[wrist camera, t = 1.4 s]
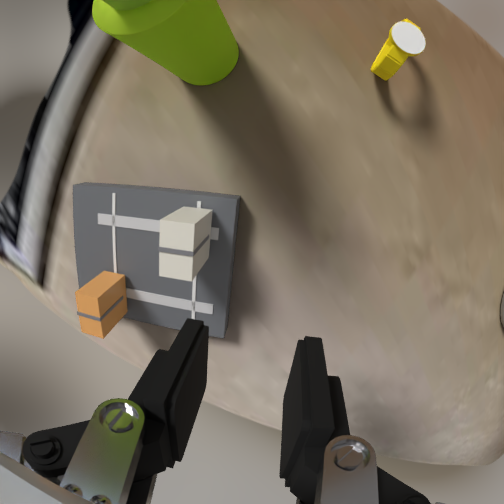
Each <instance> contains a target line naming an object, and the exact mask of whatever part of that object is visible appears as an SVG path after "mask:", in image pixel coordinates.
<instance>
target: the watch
mask: <svg viewBox="0 0 504 504" xmlns="http://www.w3.org/2000/svg"><path fill="white" fill-rule="evenodd" d="M425 46H426V41H425V38H424V35H423V34H422V32H421V29H420V28H419V27H418V26H417V25H415V24H414V23H412V22H411V21H409V20H408V19H403V20H402V21H401V22H398V23H395V24H394V25H393V26H392V28H391V29H390V31H389V38H388V39H387V41H386V42H385V44H384V46H383V47H382V49H381V51H380V53H379V54H378V56H377V58H376V60H375V61H374V63H373V65H372V67H371V72H373V73H374V74H376V75H377V76H379V77H380V78H382V79H383V80H385V81H386V80H388V79H389V78H391V77H392V76H393V75H394V74H395V73H396V72H397V71H398V69H399V68H400V67H401V66H402V64H403V63H404V62H405V61H406V59H407V58H408V56H416V55H419V54H420V53H422V52H423V51H424V49H425Z"/></svg>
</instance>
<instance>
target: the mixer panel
mask: <svg viewBox="0 0 504 504" xmlns="http://www.w3.org/2000/svg"><path fill="white" fill-rule="evenodd" d="M184 206H185V207H194V208H203V209H211V210H213V211H212V223H211V235H210V249H209V258H208V259H207V261H206V262H205V263H204V265H203V266H202V268H201V269H200V271H199V272H198V273H197V275H196V276H195V278H194V279H193V281H192V282H191V281H185V280H180V279H174V278H168V277H162V276H159V251H158V247H159V236H160V219H162V218H164V217H166V216H167V215H169V214H171V213H173V212H174V211H176V210H178V209H180V208H182V207H184ZM239 206H240V196H237V195H228V194H220V193H211V192H202V191H192V190H182V189H171V188H160V187H148V186H135V185H121V184H105V183H87V182H84V183H80V184H75V185H73V220H74V239H75V253H76V264H77V273H78V282H79V289H80V288H81V287H83V286H84V285H85V284H87V283H88V282H89V281H91V280H92V279H94V278H95V277H96V276H98V275H99V274H100V273H102V272H103V271H108V272H113V273H118V274H123V275H125V283H126V298H127V310H128V312H127V313H126V314H125V315H124V316H123V317H125V318H129V319H133V320H137V321H141V322H145V323H150V324H154V325H159V326H163V327H168V328H172V329H177V330H181V328H182V326H183V325H184V323H185V321H186V319H187V318H191V319H196V320H201V321H204V325H206V326H209V336H213V337H219V338H224V336H225V333H226V330H227V326H228V315H229V304H230V294H231V284H232V273H233V263H234V253H235V243H236V234H237V224H238V215H239Z"/></svg>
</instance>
